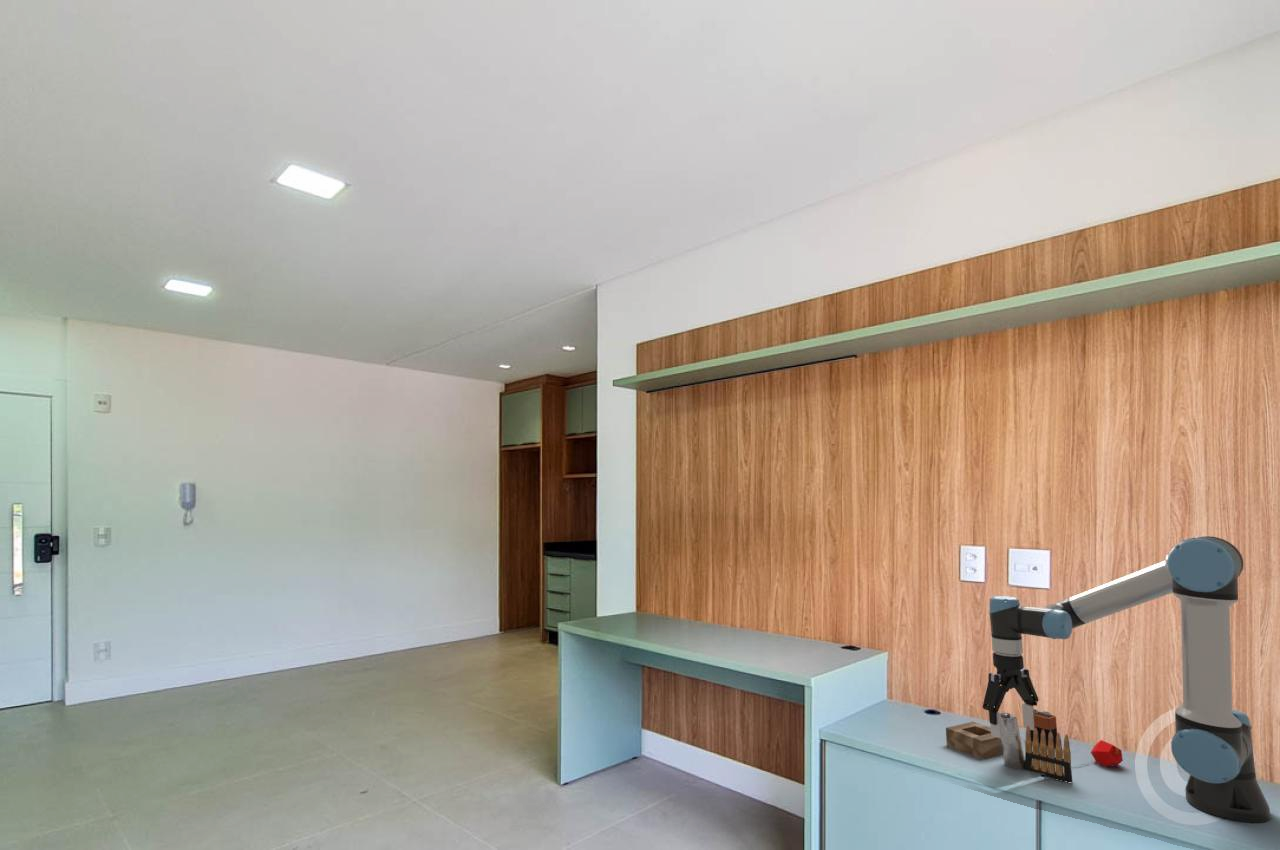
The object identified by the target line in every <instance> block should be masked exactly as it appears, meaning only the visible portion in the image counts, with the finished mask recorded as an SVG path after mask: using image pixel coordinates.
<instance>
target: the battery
mask: <svg viewBox="0 0 1280 850" xmlns="http://www.w3.org/2000/svg"><path fill="white" fill-rule="evenodd" d="M1033 709H1034V729H1035V728H1036V729H1037V732H1038V739H1039V745H1040V742H1041V731H1042V729H1044V732H1045V736H1046V745H1047V747H1048V736H1049V732H1050V731H1051V732H1052V735H1053V742H1054V748H1056V737H1057V733H1058V728H1057V727H1058V726H1057V716H1056V715H1055V714H1054V715H1053V714H1052V713H1051V712H1049V711H1046V710H1045V711H1038V709H1035V708H1033ZM1030 732H1031V741H1032V743H1033V732H1034V730H1030Z"/></svg>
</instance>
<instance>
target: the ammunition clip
mask: <svg viewBox="0 0 1280 850" xmlns="http://www.w3.org/2000/svg"><path fill="white" fill-rule="evenodd" d="M1025 729H1026V730H1025V740H1024V748H1025V749H1024V751H1025V752H1024V753H1025V754H1024V758H1025V769H1024V771H1030V772H1032V773H1033V772H1034V773H1037V774H1041V775H1040V776H1041V777H1044V778H1049V779H1054V780H1056V779H1058V780H1057V781H1060V780H1062V781H1061V782H1064V781H1067V782H1066V783H1068V782H1072V783H1073V774H1072V773H1073V772H1072V755H1071V748H1070V747H1071V746H1070V739H1069V735H1068V734H1067V733H1066V734H1065V736H1064V740H1063V744H1062V738H1061V734H1060V732H1057V737H1056V748H1054V742H1053V735H1052V732H1051V731H1050V732H1049V736H1048V746H1047V745H1046V736H1045V732H1044V729H1042V731H1041V742H1040V744H1039V739H1038V732H1037V729H1036V728H1035V729H1034V732H1033V742H1032V741H1031V732H1030V728H1029V726H1027V728H1025ZM1062 745H1063V746H1062ZM1062 747H1063V748H1062Z"/></svg>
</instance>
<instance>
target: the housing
mask: <svg viewBox="0 0 1280 850" xmlns="http://www.w3.org/2000/svg"><path fill="white" fill-rule="evenodd" d="M945 737H946V739H945V740H946V746H947V747H950V748H952V749H954V750H957V751H960V752H962V753H965V754H967V755H970V756H972V757H975V758H978V759H980V760H986V759H990V758H991V759H992V758H993V757H994V758H995V757H998V756H1003V753H1002V748H1001V743H1000V738H998V737H995V736H992V735H991V726H988V725H984V724H981V723H979V722H976V721H970V722H966V723H961V724H957V725H952V726H946V727H945Z"/></svg>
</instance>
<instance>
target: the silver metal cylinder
mask: <svg viewBox="0 0 1280 850" xmlns="http://www.w3.org/2000/svg"><path fill="white" fill-rule="evenodd" d="M1000 714H1001V728H1002V738H1000V743H1001V748H1002V753H1003V754H1002V758H1003V763H1004V766H1005V767H1007V768H1008V769H1012V770H1017V771H1018V770H1019V771H1023V770H1024V771H1025V754H1024V753H1025V752H1024V749H1023V748H1024V747H1023V744H1022V738H1021V734H1020V733H1021V732H1020V728H1019V724H1018V717H1017V716H1016V715H1013V714H1011V713H1009V712H1000Z"/></svg>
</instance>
